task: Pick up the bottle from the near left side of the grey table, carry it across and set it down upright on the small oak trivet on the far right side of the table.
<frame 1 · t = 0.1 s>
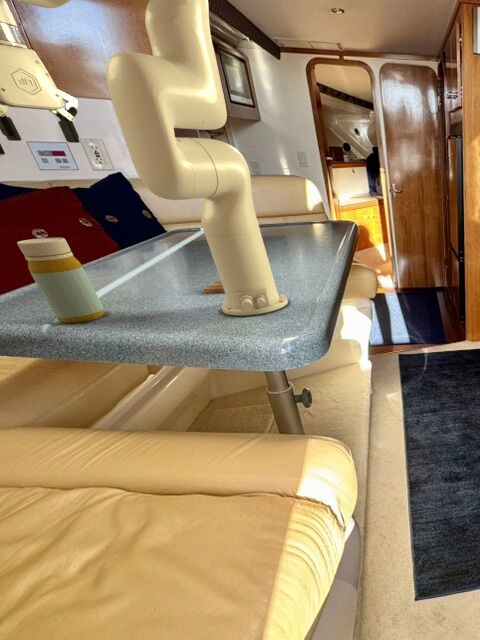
hand: (45, 141, 84), 31 cm above the table, tool pointing down, fingers open, 9 cm apart
trivet: (228, 288, 99), on the table
bottle: (83, 318, 80), on the table
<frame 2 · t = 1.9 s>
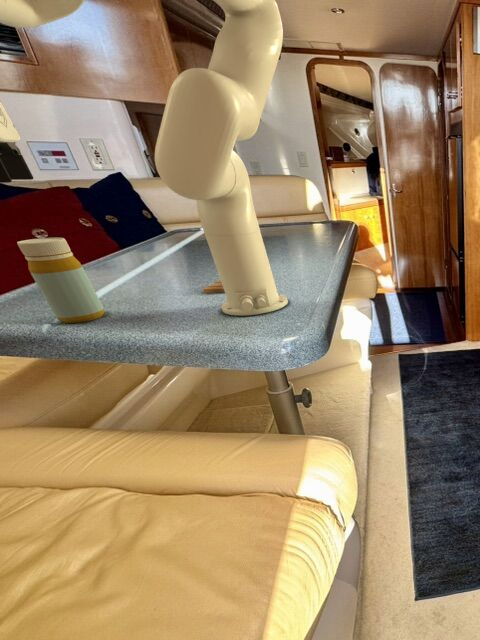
hand: (10, 180, 69), 25 cm above the table, tool pointing down, fingers open, 9 cm apart
nothing on the table moved.
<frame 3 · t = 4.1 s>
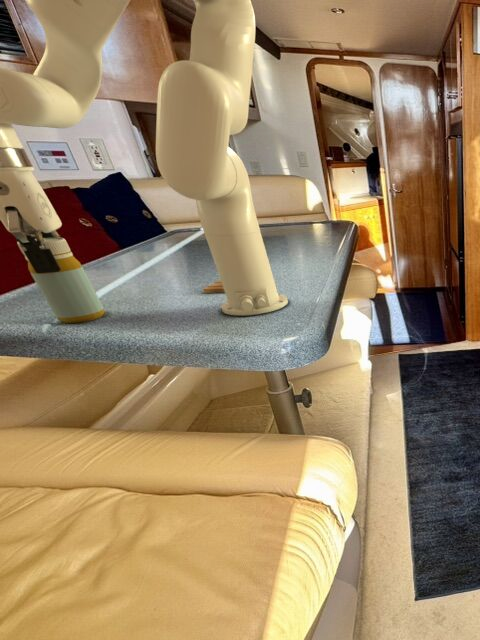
hand: (55, 267, 75), 10 cm above the table, tool pointing down, fingers closed on bottle, 7 cm apart
bottle: (83, 318, 80), on the table, touching gripper
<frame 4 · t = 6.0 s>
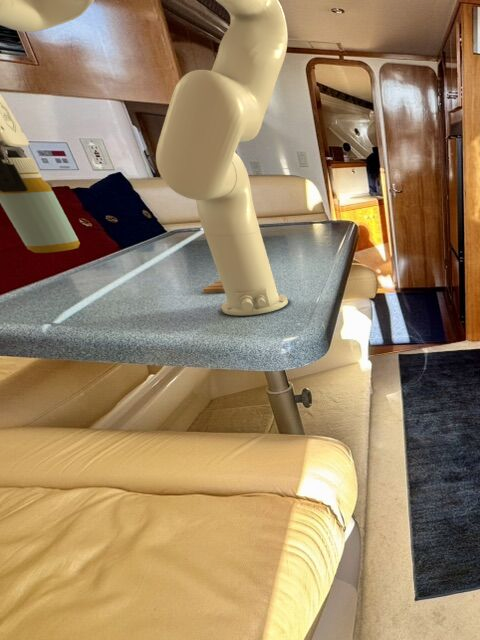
hand: (23, 189, 69), 23 cm above the table, tool pointing down, fingers closed on bottle, 7 cm apart
bottle: (57, 250, 75), point 13 cm above the table, touching gripper
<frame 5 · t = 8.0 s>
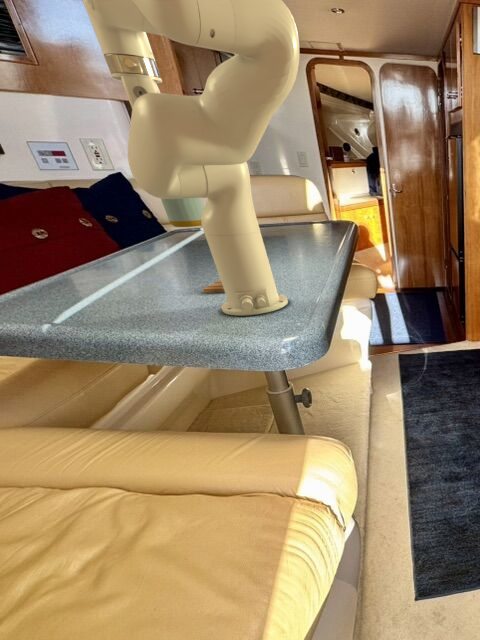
hand: (172, 174, 85), 25 cm above the table, tool pointing down, fingers closed on bottle, 7 cm apart
bottle: (191, 226, 90), point 15 cm above the table, touching gripper
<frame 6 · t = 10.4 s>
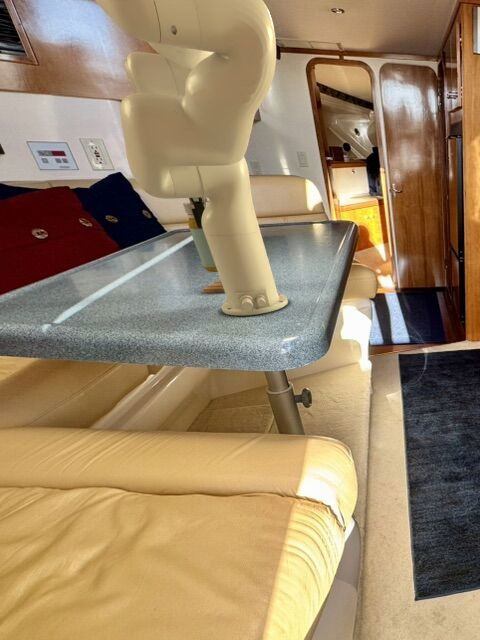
hand: (207, 224, 92), 15 cm above the table, tool pointing down, fingers closed on bottle, 7 cm apart
bottle: (222, 269, 97), point 5 cm above the table, touching gripper
when the fingers open (11 cm above the table, at t = 11.9 s): bottle stays where it is, resting on trivet.
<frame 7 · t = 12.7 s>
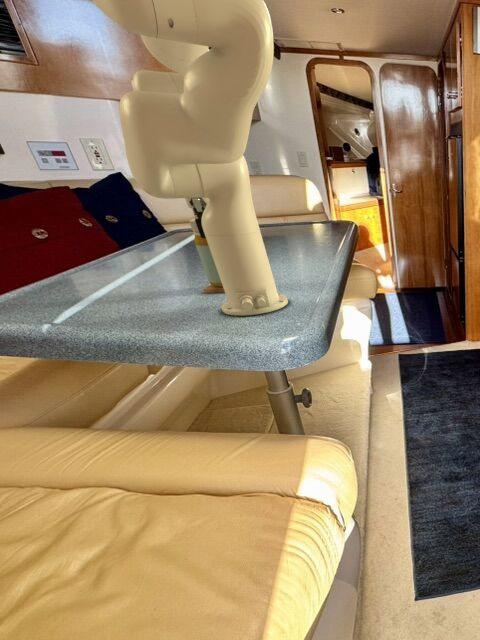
hand: (210, 234, 93), 13 cm above the table, tool pointing down, fingers open, 9 cm apart
bottle: (227, 284, 99), point 1 cm above the table, touching trivet
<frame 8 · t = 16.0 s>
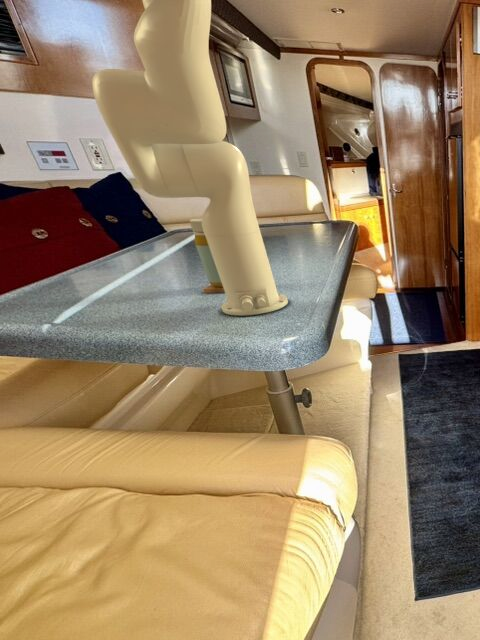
hand: (204, 129, 91), 34 cm above the table, tool pointing down, fingers open, 9 cm apart
nothing on the table moved.
at the end: bottle 0.0 cm off-centre on the trivet, point 0.9 cm above the trivet's base; bottle tilted 0°; the gripper is holding nothing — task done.
